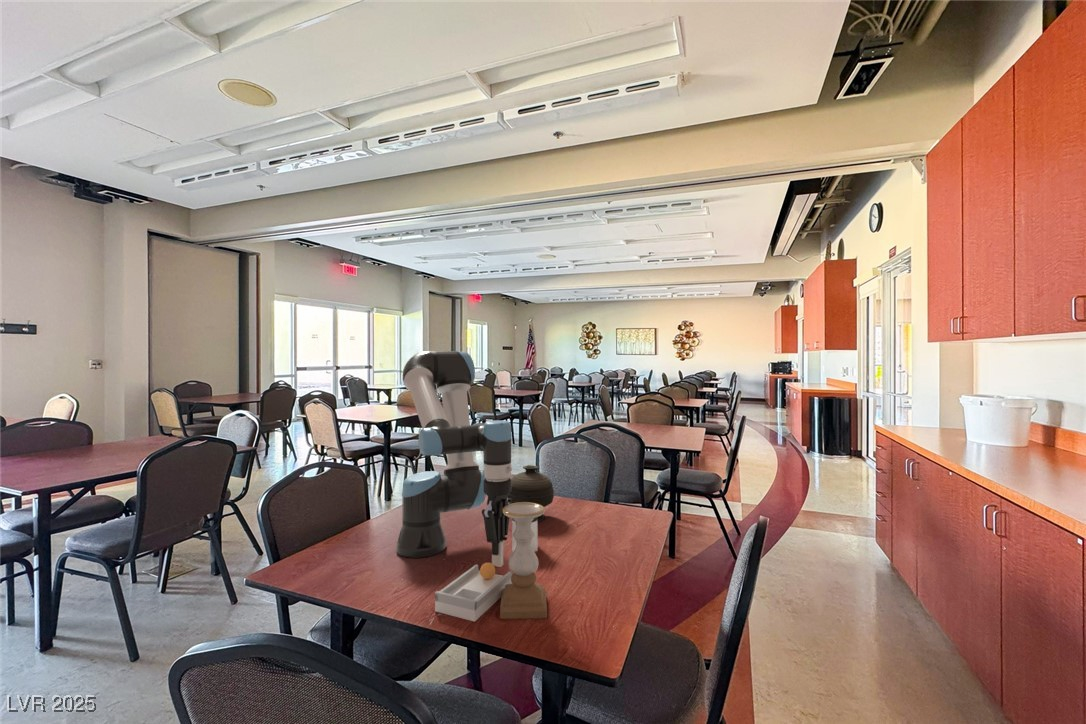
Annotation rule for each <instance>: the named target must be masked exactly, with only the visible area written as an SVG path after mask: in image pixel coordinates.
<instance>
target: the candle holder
mask: <svg viewBox="0 0 1086 724" xmlns="http://www.w3.org/2000/svg"><path fill="white" fill-rule="evenodd" d="M502 511H503V514H504V515H505V516H507V517H509V519H512V518H513V520H514V521H515V523H516V530H515V532H514V533H513V537H514V538H515V540H516V542H517V545H516V548H515V550H514V552H513V551H512V553H511V554H510V557H509V559H508V562H507V563H508V568H509V571H510V572H512V576H511V582H512V584H506V585H505V589H503V590H502V595H501V598H500V605H499V606H500V607H499V618H500V620H534V619H537V620H538V619H541V620H542V619H546V618H547V617H548V610H547V609H548V608H547V607H548V606H547V605H548V604H547V594H546V593H547V592H546V588H545V587H543V585H542V583H536V581H537V576H536V574H535V572H536V571H537V570H538V567H539V563H540V562H539V558H538V556H537V554H536V552H534V551H533V549H532V547H531V545H530V543H531V540H532V538H533V537H534V532H533V531H532V529H531V522H532V521H533V520H534V518H536V517H539V516H541V515H542V514H543V515H544V513H545V507H543V506H542V505H540V504H537V503H531V502H518V503H512V504H508V505H506V506H504V508H503V510H502Z"/></svg>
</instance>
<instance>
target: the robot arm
mask: <svg viewBox="0 0 1086 724" xmlns="http://www.w3.org/2000/svg"><path fill="white" fill-rule="evenodd" d="M475 378H476V367H475V363H474V360H473V358H472V356H471V355H470V354H469V353H468V352H467V351H461V350H460V351H458V350H453V351H451V350H423V351H420V352H417V353H416V354H414V355H413V356H412V357H410V358H409V359H408V361H407V362H406V363H405V365H404V367H403V371H402V381H403V385H404V387H405V388H406V390H408V391H409V392H410V395H411V398H412V401H413V404H414V407H415V411H416V412H417V416H418V419H419V422H420V425H421V427H422V429H420V430H419V433H418V449H419V451H420V454H421V455H423V456H441V455H446V457H447V458H446V459H447V465H446V466H445V467H444V469H443V475H441V474H440V472H439V471H436V470H431V471H429V470H427V471H420V472H417V473H414V474H411V475H409V476H407V477H406V478H405V479H404V480H403V482H402V489H401V497H402V499H401V500H402V502H401V503H402V504H401V505H402V513H401V516H402V526H401V529H400V531H399V534H398V539H397V542H396V553H397V554H398V555H399V556H401V557H405V558H414V559H415V558H418V559H419V558H428V557H432V556H435V555H437V554H439V553H442V552H443V551H444V550H445V549H446V547H447V539H446V536H445V533H444V529H443V527H442V524H441V514H443V513H450V512H457V511H463V510H471V509H474V508H478V507H481V506H482V505H483V503H484V501H485V500H486V496H487V501H486V505H487V506H486V508H485V509H484V508H483V509H482V510H481V515H482V517H483V521H484V522H483V523H484V530H485V537H486V541H487V543H491V563H492V564H493V565H494V567H499V568H502V567H503V566H504V541H507V540H508V533H509V525H510V517H507V516H505V515H504V514H503V511H502V510H503V508H504V506H506V505H508V504H511V503H512V499H510V498H508V495H507V494H509V493H510V492H511V479H512V470H513V467H512V438H513V436H512V435H513V434H512V425H511V423H510V422H509V421H508V420H500V419H499V420H497V419H495V420H487V421H485V422H477V423H474V424H471V423H470V411H469V403H468V402H469V400H468V391H469V390H470V389H471V387H472V386H471V384H474V381H475ZM435 385H436V387H435ZM438 393H439V394H440V395H441V400H442V403H441V400H440V398H439V394H438ZM474 452H483V470H480V468H479V467H480V466H479V464H478V463H477V462H476V461H475V460H474Z"/></svg>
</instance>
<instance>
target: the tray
mask: <svg viewBox="0 0 1086 724" xmlns="http://www.w3.org/2000/svg"><path fill="white" fill-rule="evenodd" d="M512 574H513V572H512V571H511V570H508V572H506V573H505V574H504V575H501V574H496V573H495V574H494V576H493V577H492V578H490V579H484V578H483V577H482V576H481V574H480V570H479V565H478V564H474V565H473V566H472V567H471V568H469V569H468V570H466V571H465V572H463V573H462V574H461V575H460V576H458V577H456V578H455V579H454V580H453V581H451V582H450V583H449V584H447V585H445V586H444V587H443V588H442V589H440V590H437V591H435V592H434V612H437V613H440V614H445V615H448V616H452V617H456V618H460V619H463V620H466V621H472V622H476V621H477V620H478V619H480V617H481V616H483V615H484V614H485V613H486V612H487V611H488V610H489V609H490V608H491V607H492V606H493V605H494V604H495V603H496V602H497V601H499V600H500V599H501V595H502V590H503V589H505V585H506V584H513V583H512V582H511V576H512Z"/></svg>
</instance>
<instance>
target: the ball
mask: <svg viewBox="0 0 1086 724" xmlns="http://www.w3.org/2000/svg"><path fill="white" fill-rule="evenodd" d="M479 571H480V574H481V576H482V577H483V578H484V579H490V578H492V577H493V576H494V574H496V566H494V565H493V564H492V562H484V563H483V564H481V566H480V569H479Z"/></svg>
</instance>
